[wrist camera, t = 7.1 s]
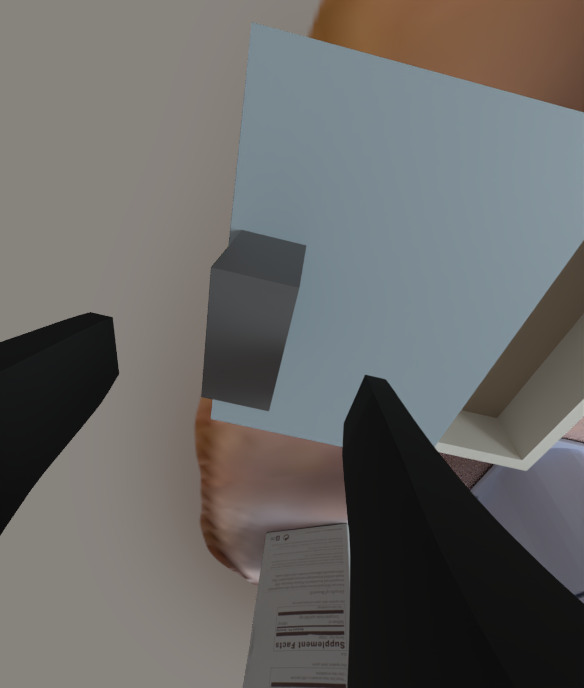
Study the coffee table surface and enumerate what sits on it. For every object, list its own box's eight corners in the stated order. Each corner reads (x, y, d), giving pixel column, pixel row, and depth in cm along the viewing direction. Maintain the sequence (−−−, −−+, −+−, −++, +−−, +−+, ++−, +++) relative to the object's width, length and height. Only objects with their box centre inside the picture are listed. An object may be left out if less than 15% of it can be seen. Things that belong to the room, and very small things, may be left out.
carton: (497, 421, 23) (526, 471, 20) (334, 385, 23) (336, 429, 19) (702, 176, 14) (818, 191, 11) (441, 106, 14) (478, 99, 10)
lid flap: (418, 452, 19) (442, 536, 15) (214, 408, 19) (185, 483, 15) (639, 133, 10) (837, 135, 6) (256, 29, 10) (209, -41, 6)
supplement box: (372, 565, 37) (401, 835, 23) (296, 571, 39) (280, 817, 25) (347, 520, 32) (363, 825, 18) (263, 531, 35) (220, 804, 21)
